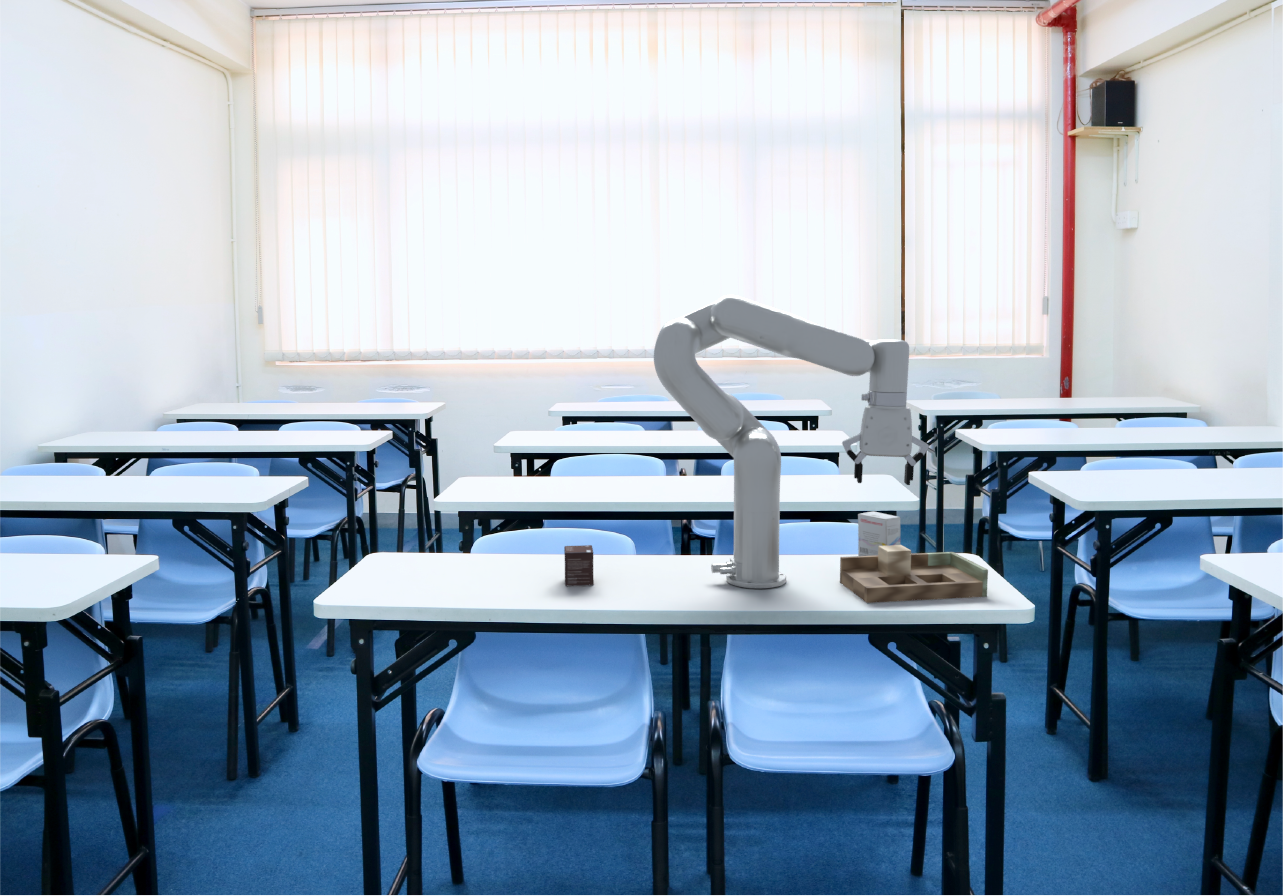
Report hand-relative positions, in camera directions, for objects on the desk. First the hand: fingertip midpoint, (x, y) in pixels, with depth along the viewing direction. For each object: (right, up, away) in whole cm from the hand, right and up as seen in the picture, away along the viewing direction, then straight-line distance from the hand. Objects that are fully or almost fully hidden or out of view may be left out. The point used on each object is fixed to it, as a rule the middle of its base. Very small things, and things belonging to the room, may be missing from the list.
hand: (883, 483), depth 200 cm
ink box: (+3, -20, +16) cm, 26 cm away
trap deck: (+5, -22, -2) cm, 22 cm away
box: (-63, -22, +6) cm, 67 cm away
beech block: (+2, -18, 0) cm, 19 cm away
